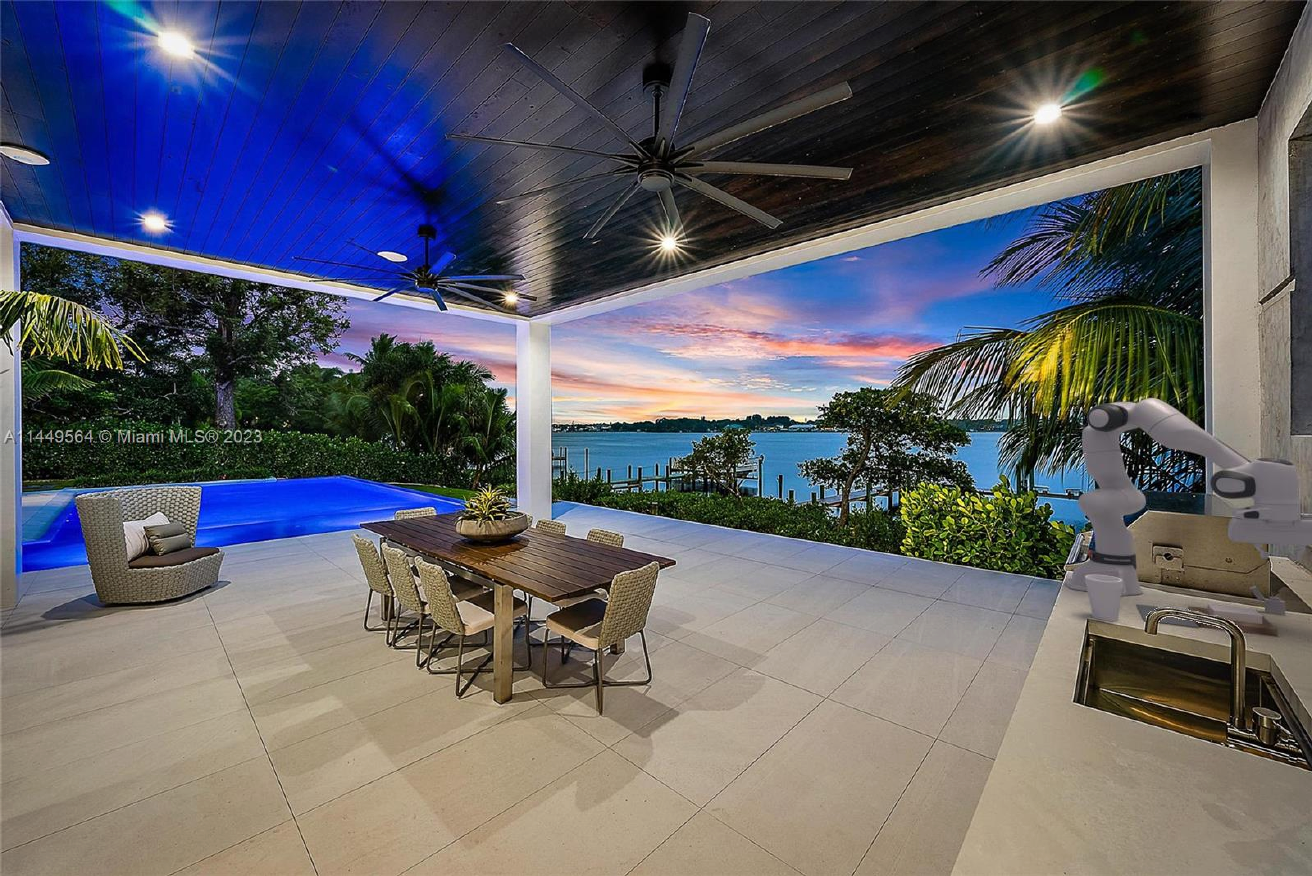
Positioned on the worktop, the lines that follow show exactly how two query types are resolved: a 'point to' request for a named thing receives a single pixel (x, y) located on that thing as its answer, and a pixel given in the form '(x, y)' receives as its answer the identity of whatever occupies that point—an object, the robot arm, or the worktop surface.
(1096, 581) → the foam cup
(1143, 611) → the mat
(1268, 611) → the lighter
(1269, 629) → the plate
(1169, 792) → the worktop surface
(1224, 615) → the tile
